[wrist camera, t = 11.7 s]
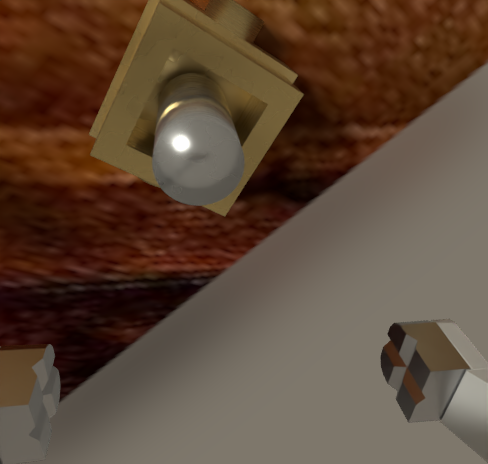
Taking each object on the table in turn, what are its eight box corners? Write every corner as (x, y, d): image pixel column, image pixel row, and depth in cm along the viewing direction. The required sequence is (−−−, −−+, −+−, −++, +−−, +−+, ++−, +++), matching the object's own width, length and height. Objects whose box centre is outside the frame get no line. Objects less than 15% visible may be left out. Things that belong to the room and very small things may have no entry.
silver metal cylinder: (188, 153, 30) (193, 220, 22) (143, 102, 28) (131, 159, 20) (239, 113, 29) (262, 170, 21) (197, 58, 26) (205, 100, 19)
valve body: (207, 189, 36) (216, 242, 29) (89, 133, 32) (68, 179, 25) (295, 43, 31) (331, 67, 24) (168, -44, 27) (168, -45, 20)
